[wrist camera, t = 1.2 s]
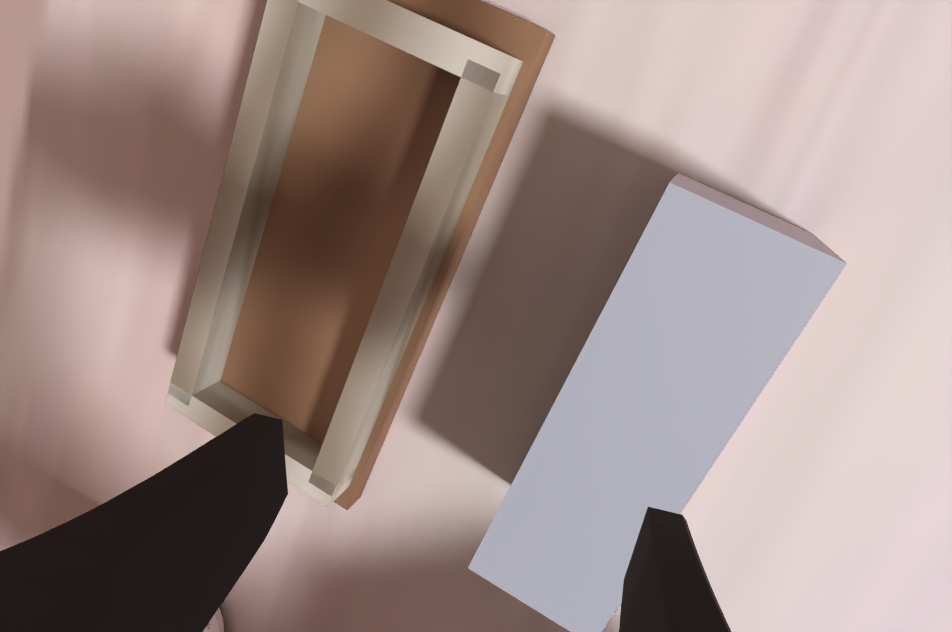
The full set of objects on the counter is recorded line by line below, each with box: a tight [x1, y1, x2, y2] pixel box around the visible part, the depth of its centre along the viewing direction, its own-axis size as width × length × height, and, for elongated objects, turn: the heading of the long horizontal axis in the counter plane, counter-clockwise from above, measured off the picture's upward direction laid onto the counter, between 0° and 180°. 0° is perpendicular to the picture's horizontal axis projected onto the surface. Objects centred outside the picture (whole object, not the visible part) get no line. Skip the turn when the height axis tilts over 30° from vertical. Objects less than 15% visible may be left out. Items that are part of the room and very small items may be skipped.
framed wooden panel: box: [165, 0, 555, 510], centre depth 21 cm, size 8×18×2 cm, turn 157°
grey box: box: [468, 173, 847, 632], centre depth 18 cm, size 4×12×5 cm, turn 157°
